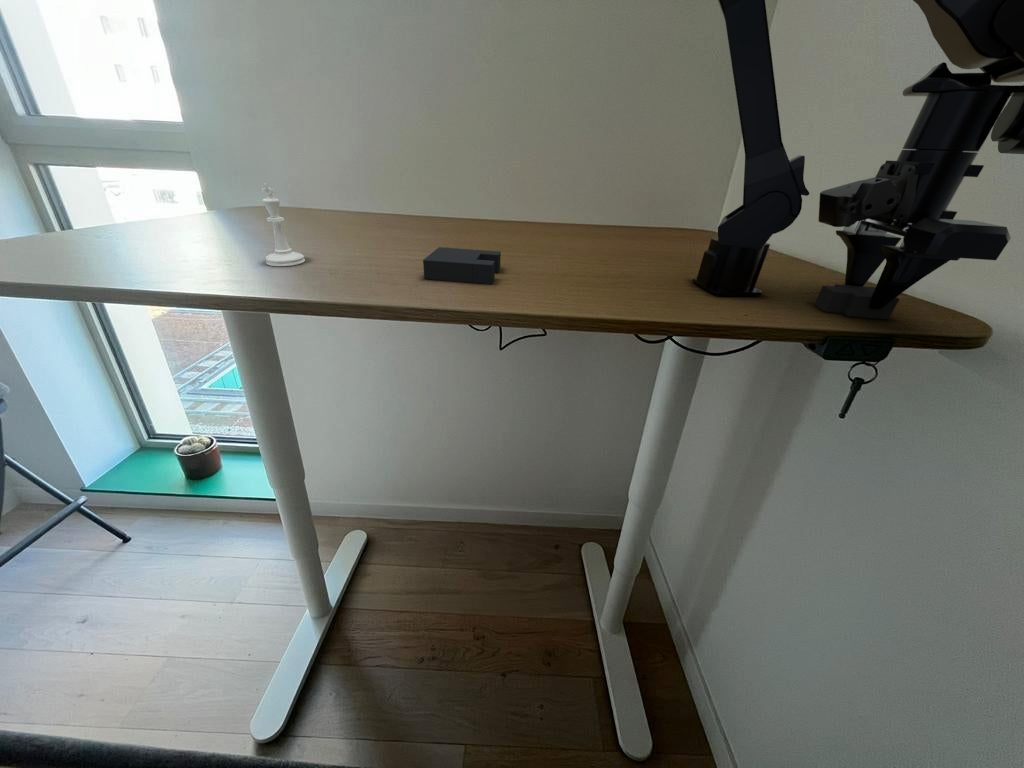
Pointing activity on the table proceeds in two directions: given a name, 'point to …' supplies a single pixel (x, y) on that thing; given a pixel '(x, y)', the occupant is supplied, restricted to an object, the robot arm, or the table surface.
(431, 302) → the table surface
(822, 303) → the dark grey block
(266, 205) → the chess piece
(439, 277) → the charcoal pad
